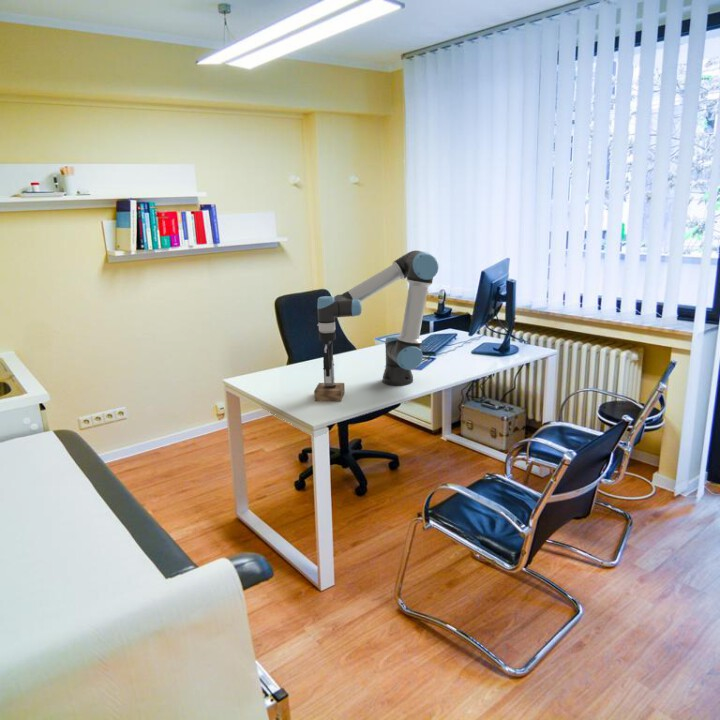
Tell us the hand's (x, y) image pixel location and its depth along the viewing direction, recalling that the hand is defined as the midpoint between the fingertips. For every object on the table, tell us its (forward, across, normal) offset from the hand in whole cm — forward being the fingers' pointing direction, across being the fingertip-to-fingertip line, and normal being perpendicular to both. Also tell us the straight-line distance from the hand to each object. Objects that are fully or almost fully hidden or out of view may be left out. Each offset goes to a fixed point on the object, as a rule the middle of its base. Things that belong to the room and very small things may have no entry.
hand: (329, 381), depth 268 cm
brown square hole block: (+8, 0, 0) cm, 8 cm away
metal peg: (+2, 0, 0) cm, 2 cm away
